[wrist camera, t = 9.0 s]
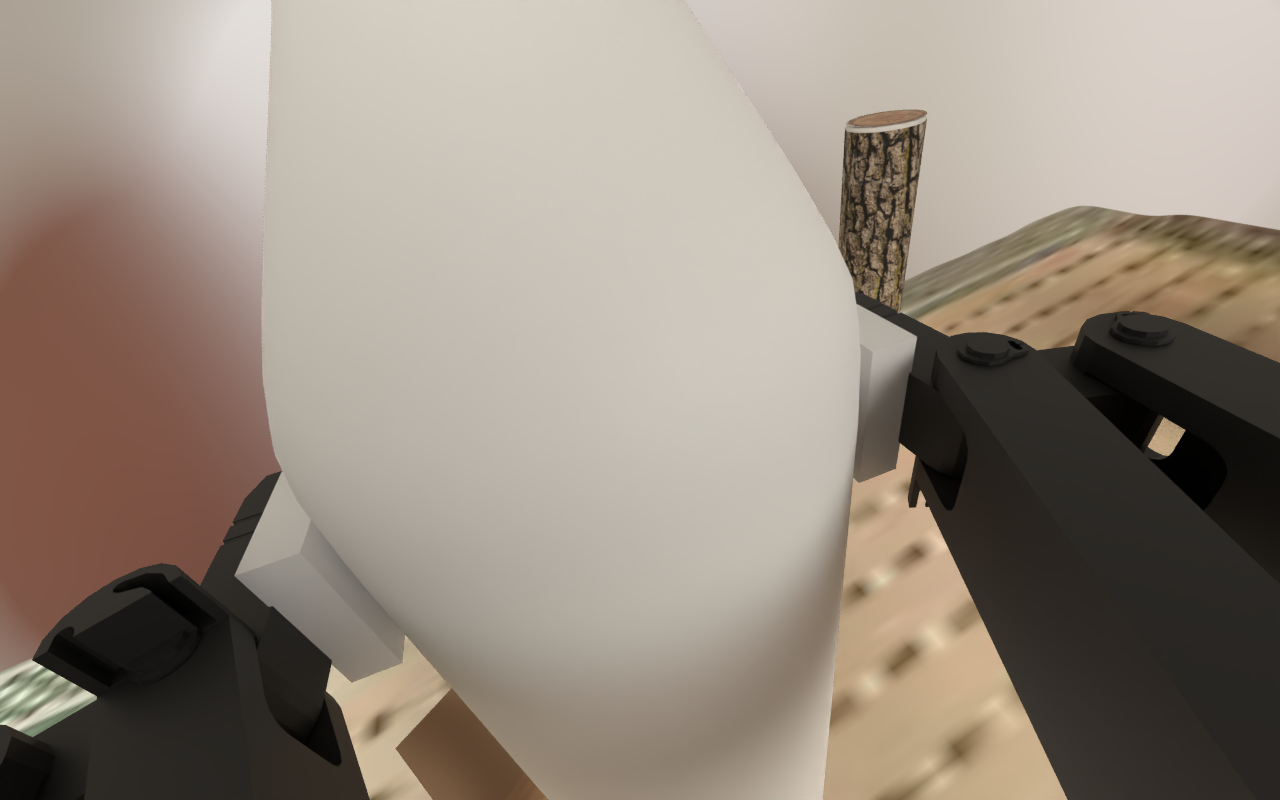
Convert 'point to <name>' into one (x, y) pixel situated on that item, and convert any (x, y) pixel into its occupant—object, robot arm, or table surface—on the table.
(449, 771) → the wooden block
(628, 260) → the bottle
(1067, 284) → the table surface
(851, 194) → the paper tube
